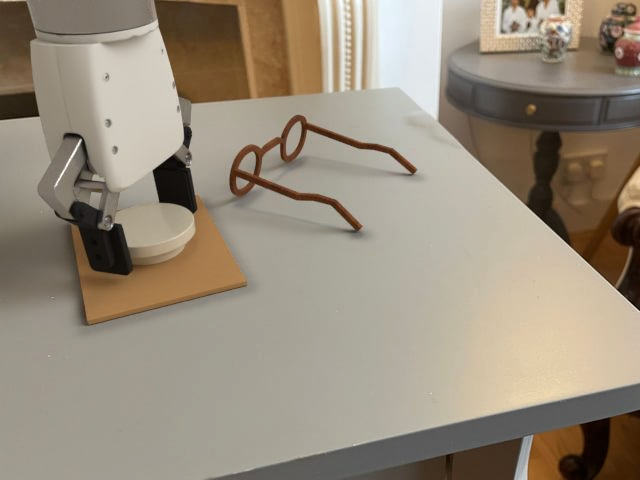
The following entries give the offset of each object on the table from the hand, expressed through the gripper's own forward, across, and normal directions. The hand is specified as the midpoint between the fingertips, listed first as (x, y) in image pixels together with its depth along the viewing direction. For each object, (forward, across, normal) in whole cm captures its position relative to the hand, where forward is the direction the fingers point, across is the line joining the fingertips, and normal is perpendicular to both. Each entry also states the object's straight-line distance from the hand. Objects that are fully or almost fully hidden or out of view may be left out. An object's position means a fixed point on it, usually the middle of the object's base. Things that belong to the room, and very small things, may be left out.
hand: (148, 238), depth 51 cm
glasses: (+1, -14, +10) cm, 17 cm away
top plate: (+1, 0, 0) cm, 1 cm away
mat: (+1, 0, 0) cm, 1 cm away
